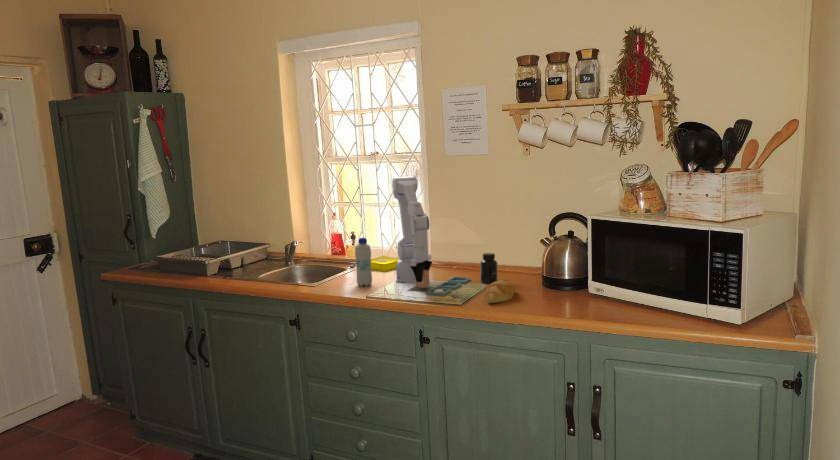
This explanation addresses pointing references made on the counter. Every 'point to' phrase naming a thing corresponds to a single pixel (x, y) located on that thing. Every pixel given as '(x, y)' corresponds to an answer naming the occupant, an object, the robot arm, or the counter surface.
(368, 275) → the bottle
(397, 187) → the robot arm
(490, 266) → the supplement bottle
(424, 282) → the brown rectangular block
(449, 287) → the dish
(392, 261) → the yellow food container
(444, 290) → the dish
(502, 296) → the bread loaf
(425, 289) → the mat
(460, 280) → the dish
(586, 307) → the counter surface
